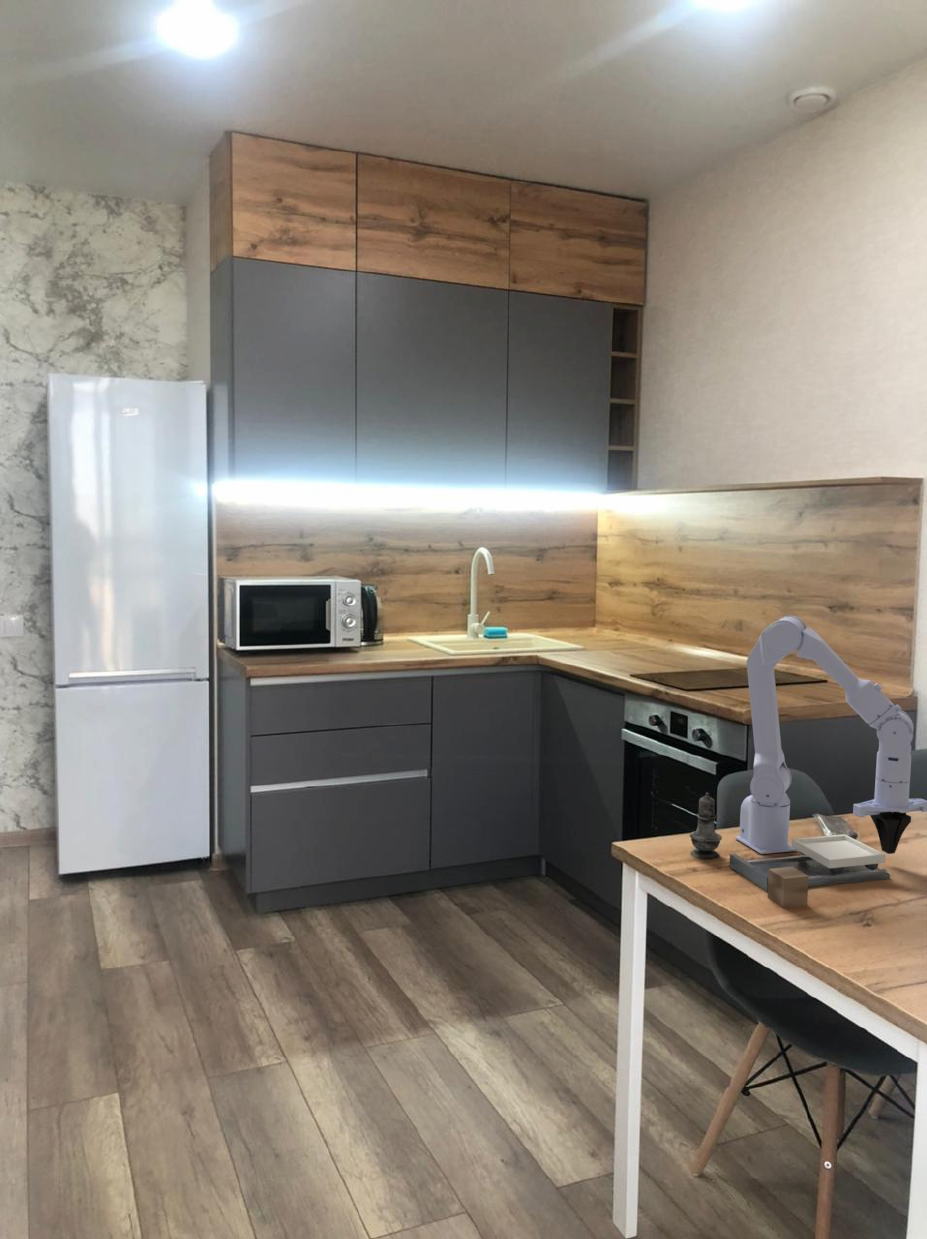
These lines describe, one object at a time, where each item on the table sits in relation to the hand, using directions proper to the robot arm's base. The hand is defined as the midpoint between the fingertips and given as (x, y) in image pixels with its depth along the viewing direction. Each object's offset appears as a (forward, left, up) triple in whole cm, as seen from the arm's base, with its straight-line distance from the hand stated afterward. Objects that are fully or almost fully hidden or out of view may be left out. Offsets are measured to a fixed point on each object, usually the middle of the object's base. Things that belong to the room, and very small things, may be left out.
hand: (888, 851), depth 182 cm
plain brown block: (+11, -28, -2) cm, 30 cm away
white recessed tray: (0, -11, -1) cm, 11 cm away
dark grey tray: (0, -17, -2) cm, 17 cm away
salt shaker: (-13, -30, -3) cm, 33 cm away
